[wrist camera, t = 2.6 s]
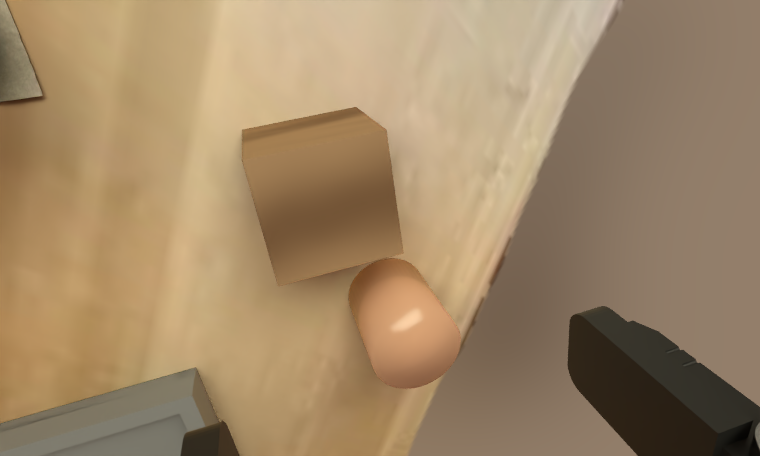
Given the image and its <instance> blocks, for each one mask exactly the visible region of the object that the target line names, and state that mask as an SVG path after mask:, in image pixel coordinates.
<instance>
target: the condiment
mask: <svg viewBox="0 0 760 456" xmlns="http://www.w3.org/2000/svg"><path fill="white" fill-rule="evenodd" d="M38 96H43V95H42V92H41V89H40V87H39V84H38V82H37V79H36V77H35V73H34V70H33V68H32V65H31V63H30V60H29V58H28V55H27V53H26V50H25V48H24V46H23V43H22V41H21V39H20V36H19V32H18V30H17V28H16V25H15V23H14V21H13V18H12V16H11V13H10V11H9V9H8V6H7V4H6V2H5V0H0V102H1V101H9V100H17V99H24V98H31V97H38Z"/></svg>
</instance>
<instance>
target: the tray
mask: <svg viewBox="0 0 760 456" xmlns="http://www.w3.org/2000/svg"><path fill="white" fill-rule="evenodd" d="M216 423H219V421H218V419H217V416H216V414H215V412H214V409H213V407H212V405H211V402H210V400H209V398H208V395H207V393H206V390H205V388H204V386H203V383H202V381H201V379H200V376H199V374H198V371H197V369H196V368H193V369H189V370H186V371H182V372H179V373H175V374H172V375H168V376H165V377H161V378H158V379H154V380H151V381H147V382H144V383H140V384H137V385H133V386H130V387H126V388H123V389H119V390H116V391H112V392H109V393H105V394H102V395H98V396H95V397H91V398H88V399H84V400H81V401H78V402H74V403H71V404H67V405H64V406H60V407H57V408H53V409H50V410H46V411H43V412H39V413H36V414H32V415H29V416H25V417H22V418H18V419H15V420H11V421H8V422H4V423H1V424H0V456H181V449H182V442H183V438H184V435H185V433H186V432H189V431H193V430H196V429H199V428H202V427H206V426H209V425H212V424H216Z"/></svg>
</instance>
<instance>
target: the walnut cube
mask: <svg viewBox="0 0 760 456" xmlns="http://www.w3.org/2000/svg"><path fill="white" fill-rule="evenodd" d="M242 162H243V166H244V169H245V172H246V176H247V179H248V183H249V186H250V190H251V193H252V197H253V200H254V204H255V207H256V211H257V214H258V218H259V221H260V225H261V228H262V232H263V235H264V239H265V242H266V245H267V249H268V252H269V256H270V259H271V263H272V266H273V270H274V273H275V277H276V280H277V284H278V286H282V285H285V284H289V283H293V282H297V281H301V280H304V279H308V278H312V277H316V276H320V275H323V274H327V273H331V272H335V271H339V270H342V269H346V268H350V267H354V266H357V265H361V264H365V263H369V262H373V261H376V260H380V259H384V258H388V257H392V256H395V255H399V254H403V247H402V240H401V232H400V225H399V218H398V211H397V203H396V196H395V189H394V182H393V175H392V167H391V160H390V153H389V146H388V138H387V131H386V129H385V128H383V127H382V126H381V125H379V124H378V123H377V122H375V121H374V120H373V119H371V118H370V117H369V116H367V115H366V114H365V113H363V112H362V111H361V110H359V109H358V108H357V107H353V108H348V109H343V110H338V111H334V112H329V113H324V114H319V115H314V116H309V117H304V118H299V119H294V120H289V121H284V122H279V123H274V124H269V125H264V126H259V127H254V128H249V129H244V130H242Z"/></svg>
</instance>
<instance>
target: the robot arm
mask: <svg viewBox="0 0 760 456" xmlns="http://www.w3.org/2000/svg"><path fill="white" fill-rule="evenodd" d="M569 327H570V328H569V347H568V348H569V349H568V370H569V373H570V376H571V379H572V381H573V383H574V384H575V386H576V388H577V389H578V390H579V392H580V393H581V394H582V395H583V396H584V397H585V398H586V399H587V400H588V401H589V402H590V404H591V405H592V406H593V407H594V408H595V409H596V410H597V411H598V412H599V414H600V415H601V416H602V417H603V418H604V419H605V420H606V421H607V422H608V423H609V425H610V426H611V427H612V428H613V429H614V430H615V431H616V432H617V433H618V434H619V435H620V437H621V438H622V439H623V440H624V441H625V442H626V443H627V444H628V445H629V446H630V447H631V449H632V450H633V451H634V452H635V453H636V454H637V455H638V456H760V407H759V406H758V405H756V404H755V403H754V402H752V401H751V400H750V399H748V398H747V397H745V396H744V395H743V394H742V393H740V392H739V391H737V390H736V389H735V388H733V387H732V386H731V385H729V384H728V383H727V382H725V381H724V380H723V379H721V378H720V377H719V376H717V375H716V374H714V373H713V372H712V371H711V370H709V369H708V368H707V367H705V366H704V365H702V364H701V363H697V362H696V359H694V358H693V357H692V356H690V355H689V354H688V353H686V352H685V351H684V350H680V349H679V347H678V346H677V345H676V344H674V343H673V342H672V341H670V340H669V339H667V338H666V337H665V336H664V335H662V334H661V333H659V332H658V331H656V330H653V329H651V328H649V327H646V326H644V325H642V324H639V323H637V322H635V321H630V322H627V321H625V320H624V319H623V318H621V317H620V316H619V315H618V314H616V313H615V312H614V311H613V310H611V309H610V308H608V307H605V306H601V307H597V308H594V309H591V310H588V311H585V312H582V313H578V314H575V315H573V316H572V317H571V319H570V326H569ZM181 456H239V453H238V451H237V449H236V446H235V444H234V441H233V439H232V436H231V434H230V431H229V429H228V427H227V425H226V423H225V422H224V421H222V422H219V423H216V424H212V425H209V426H206V427H202V428H199V429H196V430H193V431H189V432H186V433H185V435H184V438H183V442H182V449H181Z"/></svg>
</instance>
